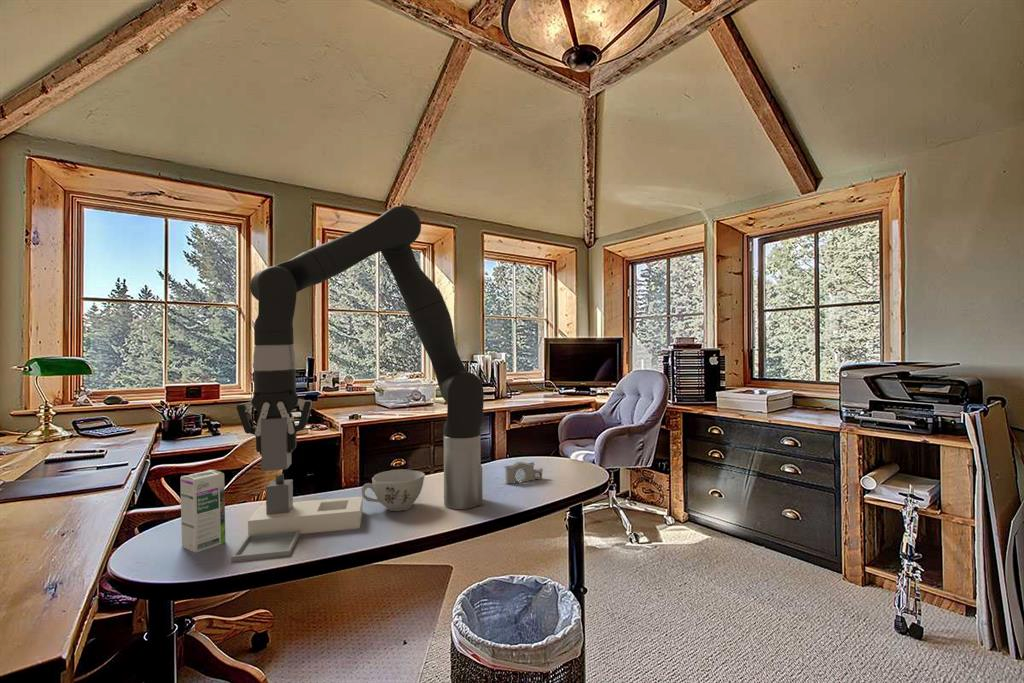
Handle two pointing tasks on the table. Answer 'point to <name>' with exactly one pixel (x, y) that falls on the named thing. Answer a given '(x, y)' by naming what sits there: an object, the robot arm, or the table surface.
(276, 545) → the tray
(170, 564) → the table surface
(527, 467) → the garden wall model
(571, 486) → the table surface
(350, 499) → the power strip
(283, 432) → the plug
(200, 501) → the syrup box
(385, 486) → the teacup
